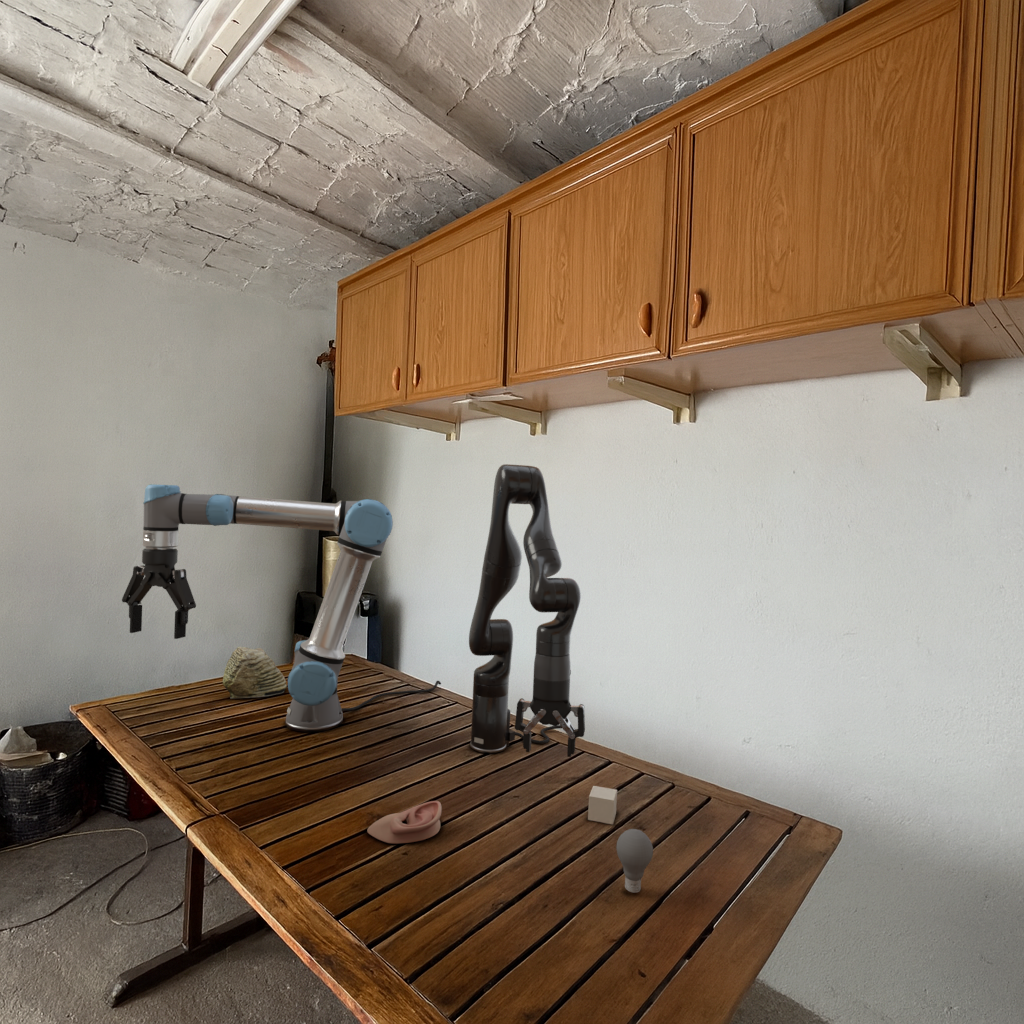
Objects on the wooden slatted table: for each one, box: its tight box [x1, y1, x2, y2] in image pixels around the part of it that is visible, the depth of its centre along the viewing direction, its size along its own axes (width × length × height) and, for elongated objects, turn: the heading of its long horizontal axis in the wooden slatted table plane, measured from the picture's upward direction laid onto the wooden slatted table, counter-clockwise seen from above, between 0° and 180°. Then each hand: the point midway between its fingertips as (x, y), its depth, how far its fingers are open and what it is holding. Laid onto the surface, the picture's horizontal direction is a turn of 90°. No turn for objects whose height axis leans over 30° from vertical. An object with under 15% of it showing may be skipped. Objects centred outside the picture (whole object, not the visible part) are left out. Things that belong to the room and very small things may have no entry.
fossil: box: [222, 646, 288, 699], centre depth 198 cm, size 9×18×15 cm, turn 132°
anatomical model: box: [366, 800, 443, 845], centre depth 122 cm, size 13×4×12 cm
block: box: [587, 785, 618, 825], centre depth 131 cm, size 5×5×5 cm
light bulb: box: [615, 828, 654, 894], centre depth 106 cm, size 6×6×10 cm
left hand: (157, 634), depth 154 cm, fingers open, 13 cm apart
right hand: (548, 753), depth 130 cm, fingers open, 8 cm apart
